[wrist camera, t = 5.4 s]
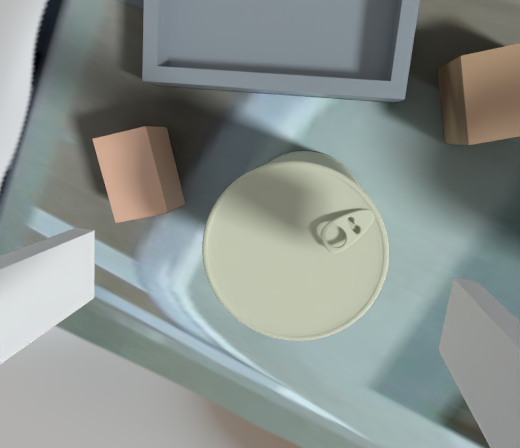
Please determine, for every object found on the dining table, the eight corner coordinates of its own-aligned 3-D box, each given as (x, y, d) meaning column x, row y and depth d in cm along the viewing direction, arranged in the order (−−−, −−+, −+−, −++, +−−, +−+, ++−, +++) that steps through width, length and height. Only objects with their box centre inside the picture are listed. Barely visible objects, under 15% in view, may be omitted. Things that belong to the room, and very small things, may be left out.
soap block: (119, 138, 32) (92, 138, 28) (167, 127, 32) (145, 126, 28) (139, 212, 33) (115, 223, 29) (186, 203, 33) (167, 212, 29)
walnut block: (436, 69, 28) (460, 55, 23) (517, 52, 27) (559, 34, 22) (444, 143, 29) (468, 145, 24) (522, 129, 28) (563, 128, 23)
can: (388, 236, 31) (428, 296, 19) (281, 290, 33) (259, 375, 21) (327, 126, 30) (330, 120, 18) (221, 190, 32) (162, 221, 20)
